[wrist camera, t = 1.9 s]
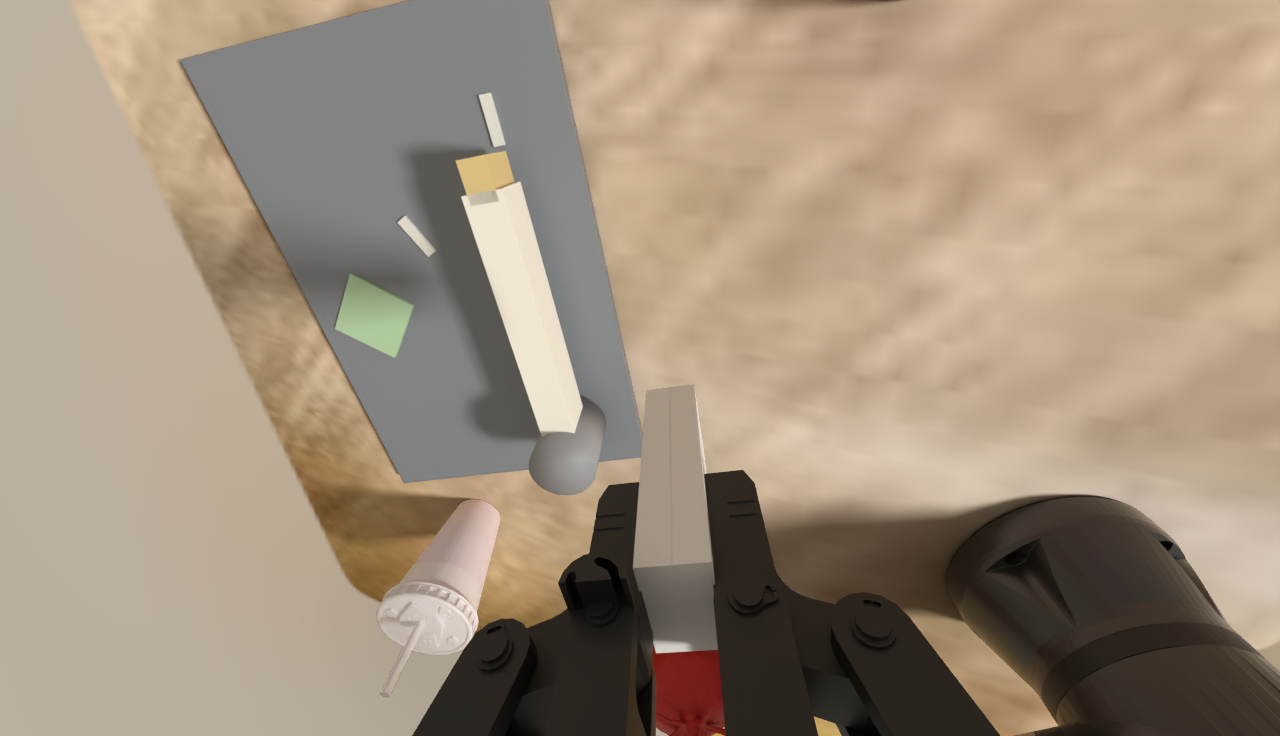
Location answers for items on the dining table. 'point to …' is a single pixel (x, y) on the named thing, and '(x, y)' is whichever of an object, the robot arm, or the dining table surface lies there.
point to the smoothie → (441, 588)
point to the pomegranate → (688, 693)
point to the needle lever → (532, 326)
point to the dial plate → (425, 215)
